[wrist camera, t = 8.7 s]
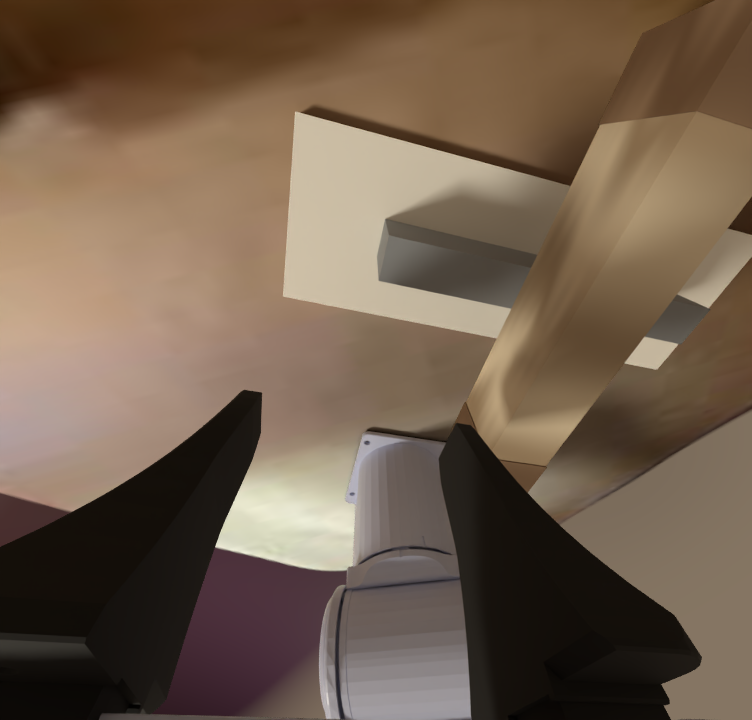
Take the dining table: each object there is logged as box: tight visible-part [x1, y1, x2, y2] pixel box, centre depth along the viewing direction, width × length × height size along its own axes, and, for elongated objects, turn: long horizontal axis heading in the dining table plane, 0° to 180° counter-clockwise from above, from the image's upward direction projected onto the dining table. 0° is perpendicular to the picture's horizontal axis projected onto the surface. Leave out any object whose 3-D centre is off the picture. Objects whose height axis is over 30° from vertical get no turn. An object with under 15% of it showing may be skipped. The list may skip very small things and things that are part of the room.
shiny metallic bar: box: [451, 0, 752, 493], centre depth 13 cm, size 18×3×4 cm, turn 167°
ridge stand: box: [283, 112, 752, 370], centre depth 17 cm, size 9×26×5 cm, turn 78°
